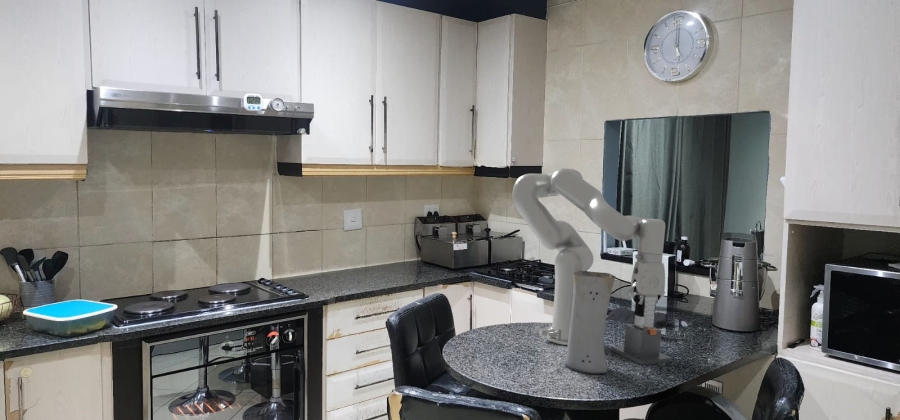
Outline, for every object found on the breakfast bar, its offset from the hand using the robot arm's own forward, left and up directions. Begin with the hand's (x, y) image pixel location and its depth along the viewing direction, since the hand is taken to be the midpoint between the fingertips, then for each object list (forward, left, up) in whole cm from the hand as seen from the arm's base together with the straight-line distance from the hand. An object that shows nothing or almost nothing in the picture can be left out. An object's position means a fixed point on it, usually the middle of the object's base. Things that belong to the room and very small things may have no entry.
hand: (644, 314), depth 191 cm
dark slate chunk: (+30, +37, -14) cm, 49 cm away
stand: (0, 0, -13) cm, 13 cm away
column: (0, 0, -9) cm, 9 cm away
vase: (-24, -5, -13) cm, 28 cm away
